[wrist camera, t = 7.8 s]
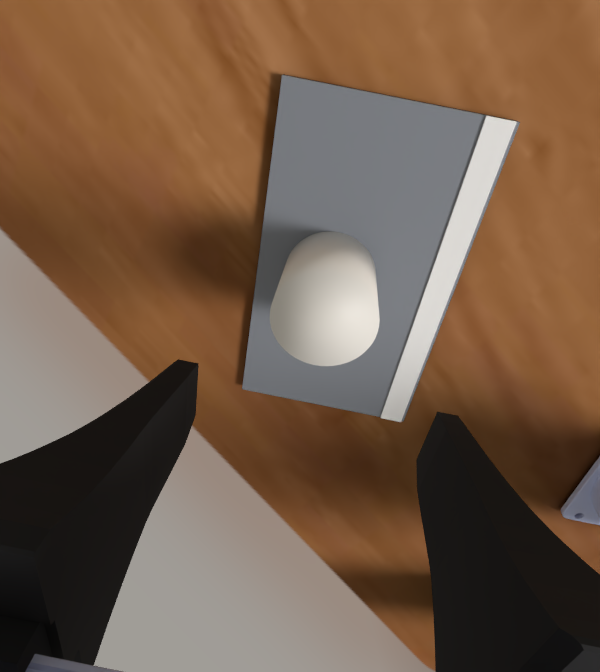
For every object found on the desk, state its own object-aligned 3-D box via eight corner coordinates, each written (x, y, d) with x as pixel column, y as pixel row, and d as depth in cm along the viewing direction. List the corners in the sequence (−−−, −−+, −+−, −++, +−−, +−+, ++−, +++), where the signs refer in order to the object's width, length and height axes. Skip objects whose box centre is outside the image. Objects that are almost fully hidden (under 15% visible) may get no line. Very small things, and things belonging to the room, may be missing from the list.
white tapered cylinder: (386, 241, 21) (392, 282, 17) (363, 322, 23) (364, 375, 19) (292, 222, 21) (277, 259, 17) (278, 306, 23) (263, 354, 19)
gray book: (516, 121, 18) (520, 122, 18) (402, 416, 27) (403, 422, 26) (283, 74, 18) (281, 74, 18) (243, 384, 27) (241, 390, 26)
